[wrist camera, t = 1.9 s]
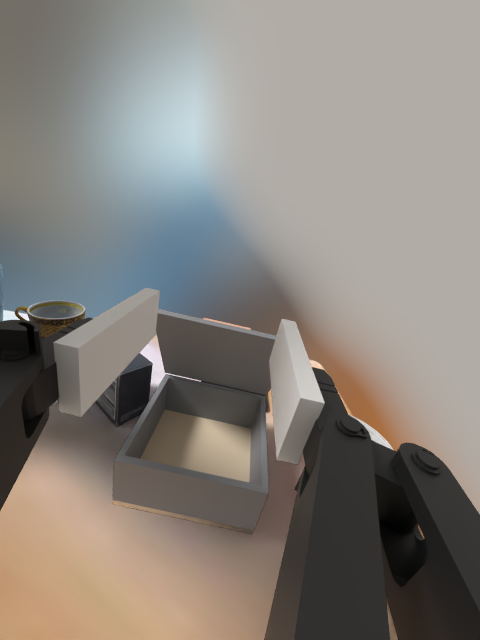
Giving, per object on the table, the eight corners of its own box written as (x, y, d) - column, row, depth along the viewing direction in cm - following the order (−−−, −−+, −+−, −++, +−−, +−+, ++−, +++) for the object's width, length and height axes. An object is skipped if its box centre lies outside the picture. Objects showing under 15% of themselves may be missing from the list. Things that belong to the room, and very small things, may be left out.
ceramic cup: (93, 341, 62) (92, 304, 58) (74, 364, 53) (72, 322, 49) (34, 334, 59) (29, 295, 56) (3, 357, 50) (-5, 312, 46)
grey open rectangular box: (112, 503, 31) (113, 460, 28) (161, 408, 47) (165, 374, 44) (252, 533, 31) (268, 493, 28) (254, 429, 47) (264, 396, 44)
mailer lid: (152, 311, 30) (155, 305, 31) (164, 372, 44) (166, 367, 44) (299, 345, 30) (299, 338, 31) (266, 395, 44) (267, 389, 45)
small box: (150, 409, 46) (155, 362, 42) (116, 428, 41) (117, 376, 37) (120, 380, 51) (122, 336, 47) (86, 393, 46) (85, 345, 42)
